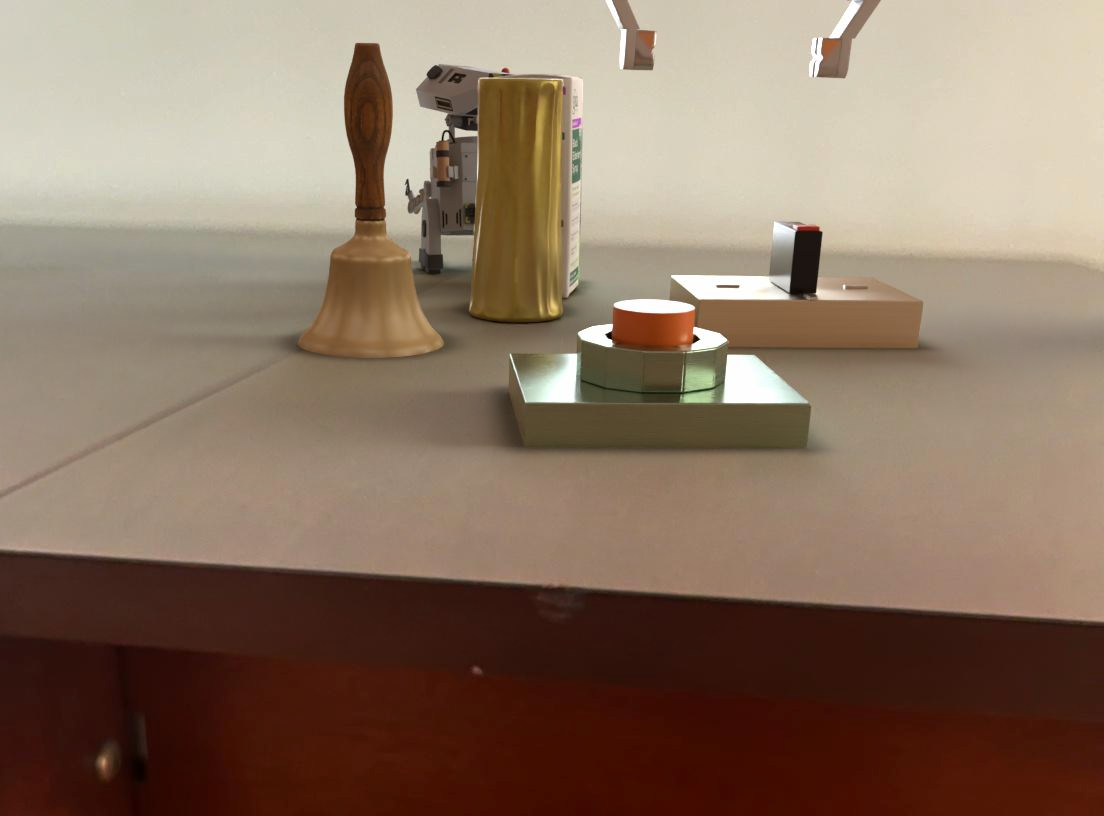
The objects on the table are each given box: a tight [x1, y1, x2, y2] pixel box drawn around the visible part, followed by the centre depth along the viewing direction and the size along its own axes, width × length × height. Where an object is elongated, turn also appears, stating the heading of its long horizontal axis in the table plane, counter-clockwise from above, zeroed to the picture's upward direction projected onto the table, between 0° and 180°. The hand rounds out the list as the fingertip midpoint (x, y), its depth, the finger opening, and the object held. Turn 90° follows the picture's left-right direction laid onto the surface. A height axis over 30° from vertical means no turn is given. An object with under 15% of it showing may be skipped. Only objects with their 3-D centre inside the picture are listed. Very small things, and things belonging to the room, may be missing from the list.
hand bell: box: [297, 42, 445, 359], centre depth 72 cm, size 8×8×16 cm
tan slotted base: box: [669, 274, 924, 349], centre depth 80 cm, size 13×9×3 cm
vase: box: [468, 78, 564, 324], centre depth 83 cm, size 6×6×14 cm
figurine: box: [404, 63, 516, 274], centre depth 103 cm, size 9×12×15 cm
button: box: [611, 298, 695, 346], centre depth 58 cm, size 4×4×2 cm
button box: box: [508, 323, 812, 449], centre depth 59 cm, size 12×10×4 cm
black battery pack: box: [768, 221, 824, 293], centre depth 78 cm, size 5×2×4 cm, turn 3°
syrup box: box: [493, 73, 584, 299], centre depth 92 cm, size 6×6×14 cm
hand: (732, 74), depth 64 cm, fingers open, 8 cm apart
